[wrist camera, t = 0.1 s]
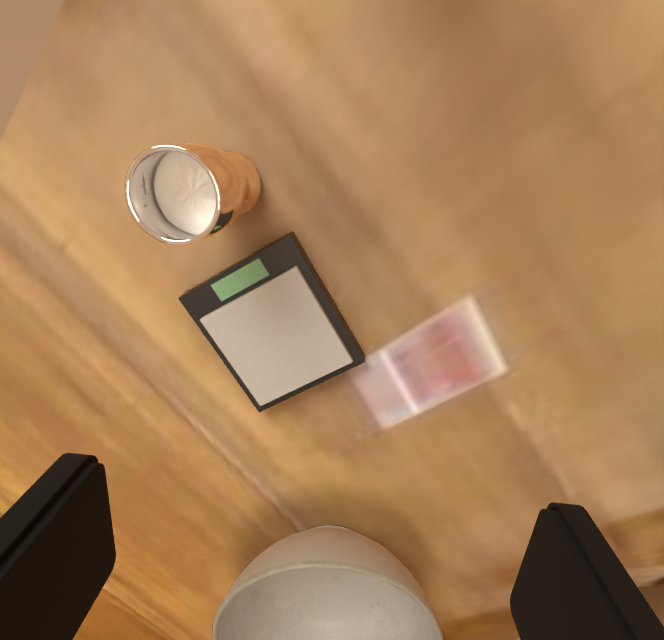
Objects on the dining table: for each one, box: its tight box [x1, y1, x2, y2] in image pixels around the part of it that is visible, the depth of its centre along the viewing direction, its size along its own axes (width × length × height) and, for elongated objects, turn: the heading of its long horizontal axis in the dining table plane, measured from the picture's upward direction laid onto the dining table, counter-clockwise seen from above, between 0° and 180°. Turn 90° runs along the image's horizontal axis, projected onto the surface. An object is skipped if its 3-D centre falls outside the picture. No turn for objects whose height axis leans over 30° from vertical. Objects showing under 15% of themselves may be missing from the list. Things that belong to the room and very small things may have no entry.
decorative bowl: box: [212, 525, 443, 640], centre depth 55 cm, size 27×27×12 cm
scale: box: [179, 232, 365, 412], centre depth 47 cm, size 16×14×3 cm
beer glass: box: [125, 143, 261, 245], centre depth 36 cm, size 7×7×15 cm
